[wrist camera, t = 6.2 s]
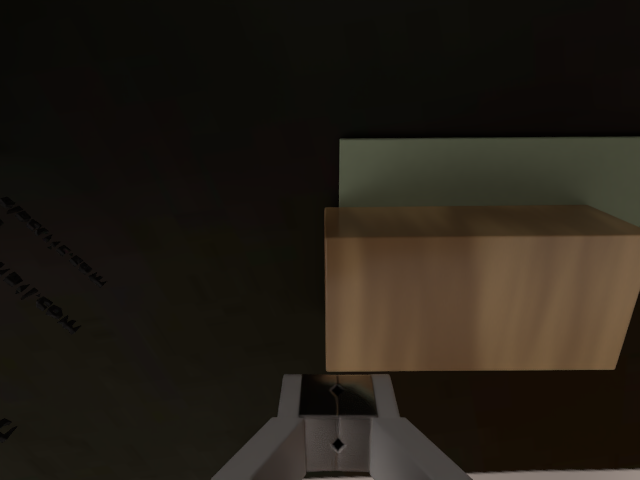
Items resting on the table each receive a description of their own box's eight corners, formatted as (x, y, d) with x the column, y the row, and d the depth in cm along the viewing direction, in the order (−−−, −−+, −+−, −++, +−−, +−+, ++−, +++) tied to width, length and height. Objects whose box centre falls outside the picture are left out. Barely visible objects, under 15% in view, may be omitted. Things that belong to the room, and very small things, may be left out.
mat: (337, 362, 22) (337, 367, 21) (339, 138, 17) (340, 139, 17) (593, 362, 21) (598, 366, 21) (659, 136, 17) (666, 137, 17)
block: (325, 372, 16) (615, 370, 16) (324, 237, 14) (658, 234, 14) (325, 319, 20) (560, 318, 20) (324, 206, 18) (587, 204, 18)
